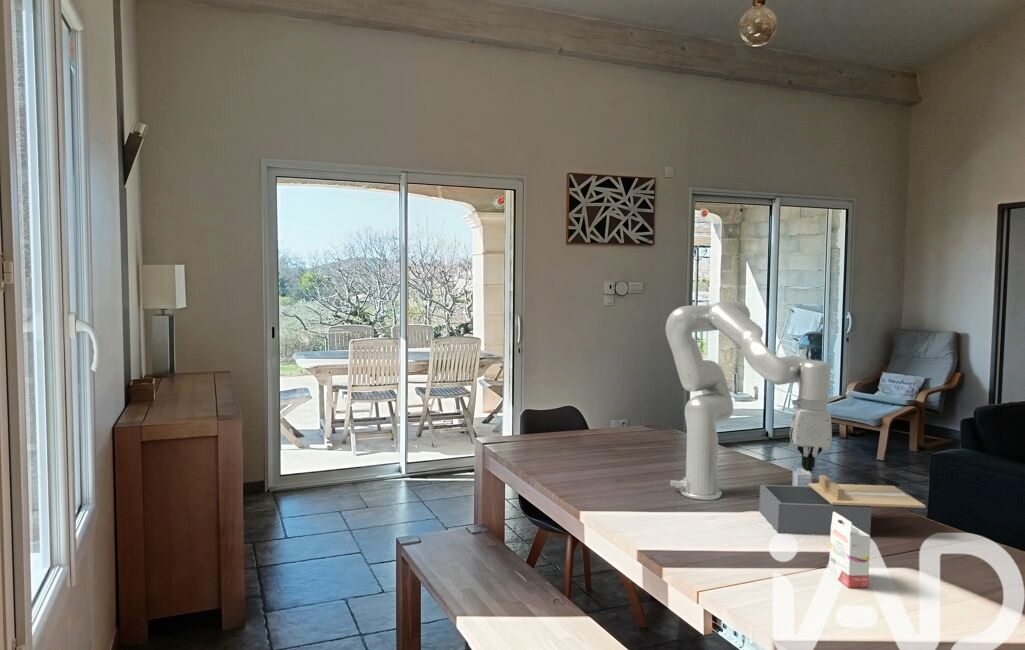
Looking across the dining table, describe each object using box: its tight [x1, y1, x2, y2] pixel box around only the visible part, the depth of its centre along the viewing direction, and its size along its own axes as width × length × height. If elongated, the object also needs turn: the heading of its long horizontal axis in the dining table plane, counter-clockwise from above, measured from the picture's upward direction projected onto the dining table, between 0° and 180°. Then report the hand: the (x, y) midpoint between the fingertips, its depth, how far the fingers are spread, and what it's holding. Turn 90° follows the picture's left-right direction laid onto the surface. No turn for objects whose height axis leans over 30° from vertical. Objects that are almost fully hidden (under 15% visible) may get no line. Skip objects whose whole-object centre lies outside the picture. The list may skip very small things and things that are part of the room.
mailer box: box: [758, 484, 872, 536], centre depth 197 cm, size 24×18×8 cm
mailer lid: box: [809, 474, 927, 509], centre depth 196 cm, size 24×18×4 cm
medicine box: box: [791, 467, 813, 486], centre depth 221 cm, size 8×4×9 cm, turn 168°
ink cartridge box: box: [828, 512, 871, 589], centre depth 159 cm, size 9×5×15 cm, turn 5°
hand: (807, 469), depth 197 cm, fingers closed
